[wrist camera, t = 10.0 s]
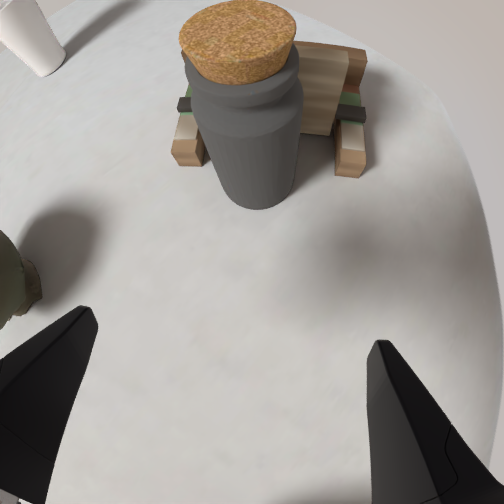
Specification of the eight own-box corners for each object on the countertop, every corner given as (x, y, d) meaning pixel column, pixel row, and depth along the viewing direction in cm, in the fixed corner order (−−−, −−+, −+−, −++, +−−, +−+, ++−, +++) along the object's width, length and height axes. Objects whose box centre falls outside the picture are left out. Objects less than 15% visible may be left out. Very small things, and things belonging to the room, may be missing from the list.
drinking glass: (79, 46, 30) (34, -21, 16) (55, 79, 29) (-1, 13, 15) (51, 52, 31) (7, -5, 17) (28, 84, 30) (-24, 28, 15)
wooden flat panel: (357, 139, 24) (386, 69, 15) (186, 129, 25) (154, 60, 16) (356, 128, 24) (383, 58, 15) (189, 118, 25) (159, 49, 17)
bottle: (209, 166, 25) (148, 24, 10) (270, 135, 25) (263, -17, 10) (242, 224, 23) (196, 95, 9) (307, 189, 24) (342, 41, 9)
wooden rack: (358, 178, 23) (379, 141, 18) (179, 166, 25) (155, 128, 19) (352, 92, 25) (365, 50, 19) (199, 84, 26) (185, 42, 21)
